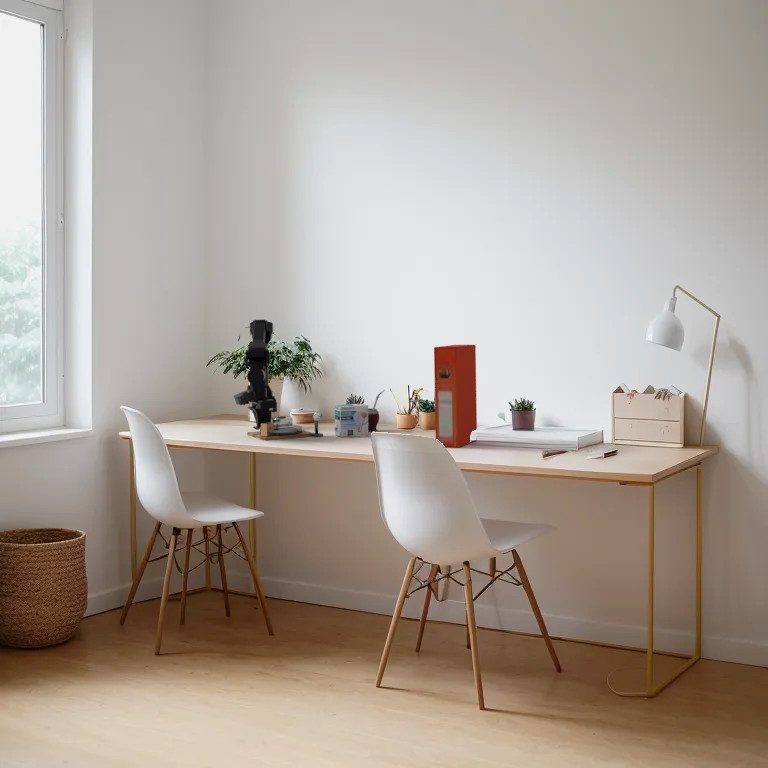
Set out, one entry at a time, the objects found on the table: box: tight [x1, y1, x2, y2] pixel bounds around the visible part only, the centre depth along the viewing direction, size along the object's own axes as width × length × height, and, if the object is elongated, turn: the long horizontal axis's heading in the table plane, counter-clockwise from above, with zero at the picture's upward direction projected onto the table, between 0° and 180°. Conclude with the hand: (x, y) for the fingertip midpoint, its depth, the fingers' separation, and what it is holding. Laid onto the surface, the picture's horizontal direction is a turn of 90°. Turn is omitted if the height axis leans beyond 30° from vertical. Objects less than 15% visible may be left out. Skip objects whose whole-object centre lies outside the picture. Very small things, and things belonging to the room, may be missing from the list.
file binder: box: [433, 344, 478, 449], centre depth 323 cm, size 8×17×32 cm, turn 155°
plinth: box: [247, 429, 314, 441], centre depth 350 cm, size 16×19×1 cm
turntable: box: [259, 422, 303, 436], centre depth 348 cm, size 15×18×4 cm
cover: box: [271, 415, 295, 429], centre depth 350 cm, size 8×8×4 cm
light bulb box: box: [334, 403, 369, 438], centre depth 348 cm, size 11×7×11 cm, turn 112°
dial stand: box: [303, 411, 324, 438], centre depth 347 cm, size 5×5×9 cm
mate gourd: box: [368, 389, 386, 433], centre depth 359 cm, size 8×8×15 cm
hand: (259, 426), depth 347 cm, fingers closed
